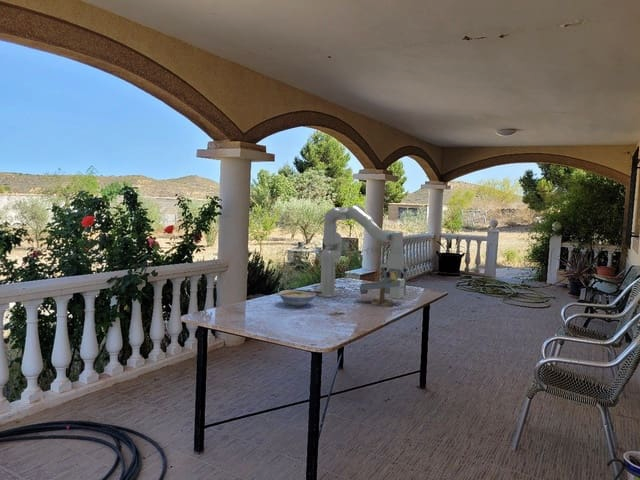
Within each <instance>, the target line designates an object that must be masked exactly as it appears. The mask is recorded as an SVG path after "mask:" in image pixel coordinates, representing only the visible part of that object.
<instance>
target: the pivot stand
mask: <svg viewBox="0 0 640 480" xmlns="http://www.w3.org/2000/svg"><path fill="white" fill-rule="evenodd" d="M385 294H386V293H385V288H384V287H380V289H379V297H373V298H372V301H371V306H377V307H378V306H379V307H388V308H392V302H393V301H392V300H393V298H386V297H385Z"/></svg>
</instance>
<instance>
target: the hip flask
mask: <svg viewBox="0 0 640 480" xmlns="http://www.w3.org/2000/svg"><path fill="white" fill-rule="evenodd" d="M386 268H387V267H386ZM387 269H388V268H387ZM404 269H405V268H403V270H404ZM407 271H408V269H407V270H406V271H405V272H404V273H403V278H402V279H405V283H404V295H406V294H407V293H406V289H407V288H406V286H407ZM389 272H397V276H398V278H399V279H401V272H402V271H401V270H400V269H390V270H389ZM386 276H387V272H386V271H385V269H384V268H383V282H384V281H390V277H389V278H388V277H386ZM385 294H390V288H385Z"/></svg>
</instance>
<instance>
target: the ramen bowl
mask: <svg viewBox="0 0 640 480" xmlns="http://www.w3.org/2000/svg"><path fill="white" fill-rule="evenodd" d="M318 293H319V294H321V293H322V292H316V291H314V290H307V289H293V288H288V289H284V290H281V291H278V295H279V297H280V299H281V300H282V302H284V303H286V304H289V305H291V306H293V307H302V306H304V305H307V304H309V303H310V302H312V301H313V300H314V299H315V297H316V295H317V294H318Z"/></svg>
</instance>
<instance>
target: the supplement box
mask: <svg viewBox="0 0 640 480" xmlns="http://www.w3.org/2000/svg"><path fill="white" fill-rule="evenodd" d="M398 280H400V287H391V288H390V293H389V299H398V300H400V299H402V298H404V297H405V294H404V283H405V279H399V278H398Z"/></svg>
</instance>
